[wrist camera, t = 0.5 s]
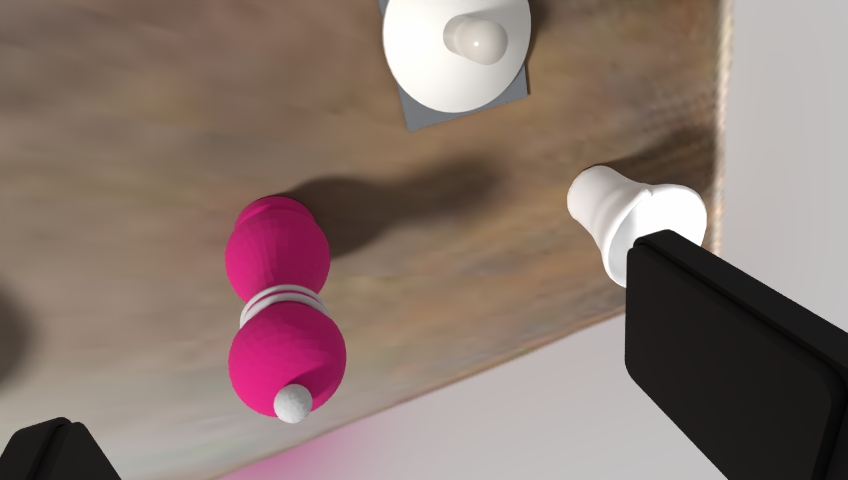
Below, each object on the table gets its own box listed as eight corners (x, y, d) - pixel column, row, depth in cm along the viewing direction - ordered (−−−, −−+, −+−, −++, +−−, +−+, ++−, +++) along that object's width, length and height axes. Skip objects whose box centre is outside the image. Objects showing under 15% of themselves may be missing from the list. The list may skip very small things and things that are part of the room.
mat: (368, -43, 35) (369, -44, 34) (507, -76, 36) (510, -77, 36) (407, 129, 41) (408, 131, 40) (524, 95, 42) (527, 96, 42)
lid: (364, -33, 34) (384, -34, 29) (517, -70, 36) (561, -77, 31) (401, 127, 40) (423, 150, 35) (532, 88, 41) (572, 105, 36)
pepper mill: (336, 205, 42) (395, 367, 24) (305, 281, 44) (339, 479, 27) (244, 176, 39) (238, 338, 21) (215, 260, 41) (189, 467, 24)
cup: (621, 127, 46) (706, 162, 37) (636, 213, 51) (715, 261, 42) (532, 171, 45) (598, 217, 37) (556, 254, 50) (619, 311, 42)
